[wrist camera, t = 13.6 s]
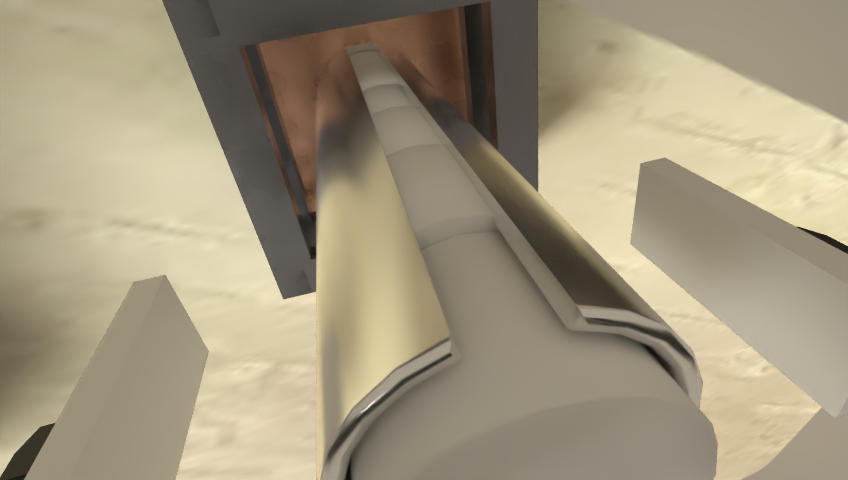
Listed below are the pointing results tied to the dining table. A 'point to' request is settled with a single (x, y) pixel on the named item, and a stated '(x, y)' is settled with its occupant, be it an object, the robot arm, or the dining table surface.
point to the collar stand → (298, 81)
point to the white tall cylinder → (474, 310)
